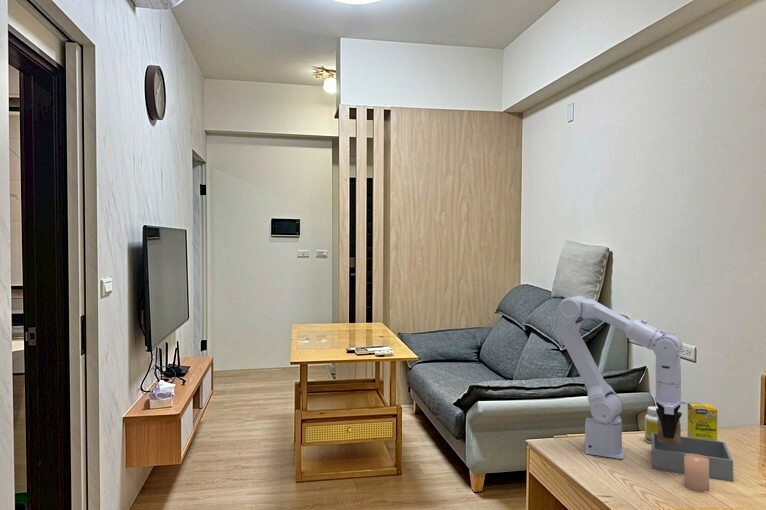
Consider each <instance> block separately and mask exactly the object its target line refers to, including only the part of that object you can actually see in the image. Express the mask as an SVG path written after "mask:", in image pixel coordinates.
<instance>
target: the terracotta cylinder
mask: <svg viewBox="0 0 766 510" xmlns="http://www.w3.org/2000/svg"><path fill="white" fill-rule="evenodd" d="M683 479H684V480H683V481H684V483H683V484H684V487H685V488H686V489H688V490H690V491H693V492H697V493H698V492H699V493H705V492H704V491H707V492H709V491H710V478H709V459H708V458H707V457H705V456H703V455H699V454H693V453H689V454H685V455H684V475H683Z"/></svg>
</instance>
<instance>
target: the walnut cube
mask: <svg viewBox="0 0 766 510" xmlns="http://www.w3.org/2000/svg"><path fill="white" fill-rule="evenodd" d="M680 419H681V418H680ZM680 419H679V421H678V423H677V426H676V431H675V436H674V439H670V438H664V435H663V430H662V425H661V421H660V418H659V417H658V442H663V443H670V444H677V445H681V436H682V435H681V434H682V433H681V432H682V429H681V421H680Z"/></svg>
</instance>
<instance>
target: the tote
mask: <svg viewBox="0 0 766 510" xmlns="http://www.w3.org/2000/svg"><path fill="white" fill-rule="evenodd" d="M651 439H652V444H651V463H652V465H651V466H652V467H651V468H652V469H653V470H659V471H664V470H665V472H670V471H672V472H673V473H677V472H678V473H677V474H684V455H685V454H689V453H693V454H699V455H703V456H705V457H707V458H708V459H709V477H710V478H709V479H715V480H722V481H728V482H734V460H733V458H732V455H731V453H730V450H729V449H728V445H727V444H726V442H725V441H719V440H717V441H714V440H706V439H698V438H691V437H688V436H684V435H683V436H682V435H681V445H677V444H670V443H663V442H658V433H652V432H651ZM672 472H671V473H672Z"/></svg>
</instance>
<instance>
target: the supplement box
mask: <svg viewBox="0 0 766 510" xmlns="http://www.w3.org/2000/svg"><path fill="white" fill-rule="evenodd" d="M687 437H691V438H698V439H706V440H714V441H718V409H717V408H716V407H714V405H712V404H711V403H700V402H698V403H696V402H687Z"/></svg>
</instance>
